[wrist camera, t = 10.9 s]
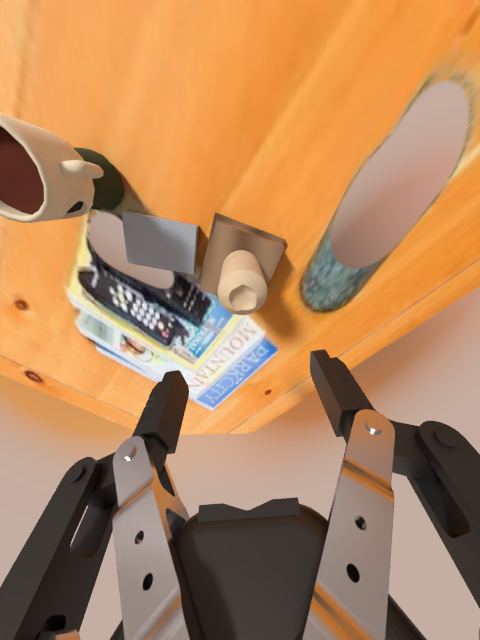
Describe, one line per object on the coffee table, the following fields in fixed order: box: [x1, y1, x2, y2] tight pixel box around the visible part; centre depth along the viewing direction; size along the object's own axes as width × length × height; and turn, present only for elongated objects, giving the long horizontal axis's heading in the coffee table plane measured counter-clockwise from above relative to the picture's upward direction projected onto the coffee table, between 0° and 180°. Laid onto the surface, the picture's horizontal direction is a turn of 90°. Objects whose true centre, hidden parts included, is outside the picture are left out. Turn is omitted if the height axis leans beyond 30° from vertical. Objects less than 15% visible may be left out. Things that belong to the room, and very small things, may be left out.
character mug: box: [0, 113, 123, 223], centre depth 19 cm, size 11×7×13 cm, turn 95°
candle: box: [218, 250, 268, 315], centre depth 23 cm, size 6×6×10 cm
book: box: [121, 211, 199, 275], centre depth 28 cm, size 10×7×2 cm
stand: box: [198, 213, 286, 295], centre depth 29 cm, size 11×11×4 cm
